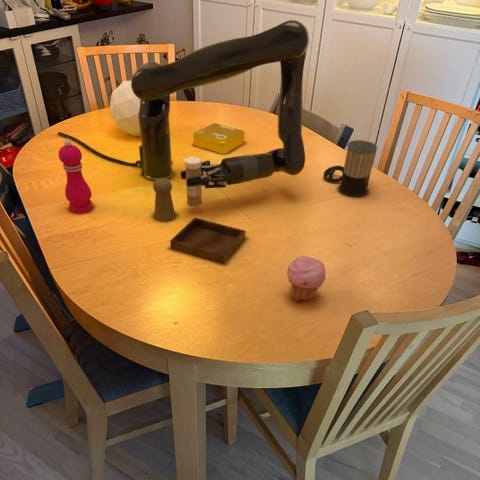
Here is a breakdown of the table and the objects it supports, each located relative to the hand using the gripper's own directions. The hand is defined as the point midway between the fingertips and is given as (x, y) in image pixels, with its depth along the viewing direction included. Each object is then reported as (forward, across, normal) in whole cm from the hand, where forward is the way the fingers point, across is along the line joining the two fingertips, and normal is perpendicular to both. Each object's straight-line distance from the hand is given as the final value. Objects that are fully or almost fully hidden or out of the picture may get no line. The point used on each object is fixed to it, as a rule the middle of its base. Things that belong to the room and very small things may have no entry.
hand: (184, 179), depth 131 cm
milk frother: (-55, +1, +11) cm, 56 cm away
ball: (-3, -65, +10) cm, 66 cm away
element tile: (-29, -45, +11) cm, 55 cm away
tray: (0, +18, +10) cm, 21 cm away
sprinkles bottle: (-3, 0, +8) cm, 9 cm away
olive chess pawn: (+7, 0, +10) cm, 12 cm away
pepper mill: (+28, -13, +10) cm, 32 cm away
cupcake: (-13, +47, +11) cm, 50 cm away
